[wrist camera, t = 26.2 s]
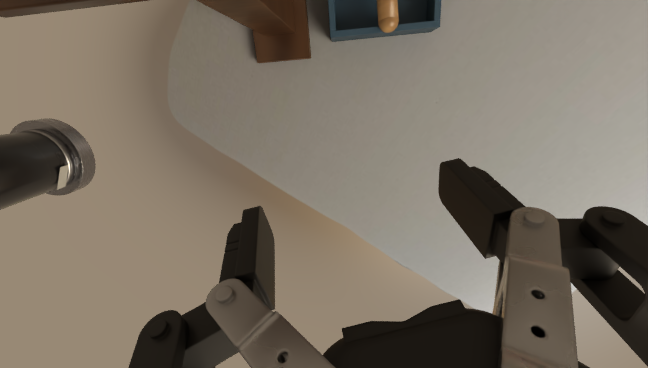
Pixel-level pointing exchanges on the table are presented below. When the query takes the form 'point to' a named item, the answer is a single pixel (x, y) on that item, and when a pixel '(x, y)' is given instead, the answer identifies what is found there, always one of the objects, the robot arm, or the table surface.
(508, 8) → the table surface
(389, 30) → the brush
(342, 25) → the tray
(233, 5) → the tall wooden pedestal
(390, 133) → the table surface
